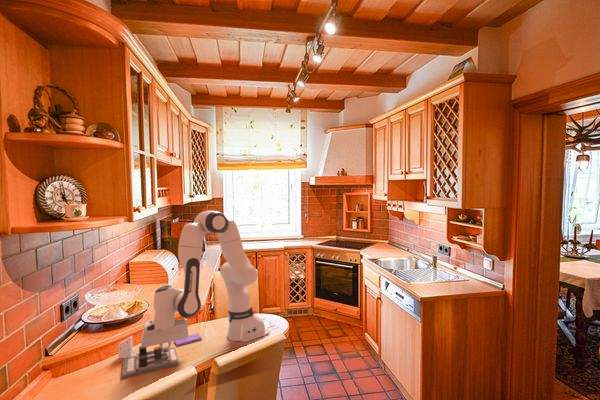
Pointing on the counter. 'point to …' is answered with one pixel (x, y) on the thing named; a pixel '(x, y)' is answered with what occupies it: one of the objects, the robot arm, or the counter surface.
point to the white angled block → (126, 348)
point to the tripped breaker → (157, 352)
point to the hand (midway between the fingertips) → (165, 351)
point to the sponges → (188, 340)
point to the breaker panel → (148, 362)
